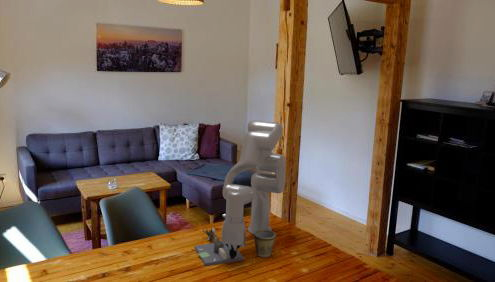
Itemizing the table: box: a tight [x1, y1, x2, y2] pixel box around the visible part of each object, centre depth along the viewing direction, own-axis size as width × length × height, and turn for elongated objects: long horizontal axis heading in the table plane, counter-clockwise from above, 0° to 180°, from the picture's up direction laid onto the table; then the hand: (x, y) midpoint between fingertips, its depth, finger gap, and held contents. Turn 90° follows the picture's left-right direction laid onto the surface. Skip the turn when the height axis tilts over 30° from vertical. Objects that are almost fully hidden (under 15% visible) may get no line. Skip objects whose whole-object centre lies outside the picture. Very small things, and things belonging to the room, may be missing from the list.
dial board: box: [194, 242, 245, 267], centre depth 187 cm, size 18×19×1 cm
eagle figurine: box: [202, 227, 220, 243], centre depth 201 cm, size 8×7×9 cm
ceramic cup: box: [253, 229, 277, 258], centre depth 190 cm, size 13×10×10 cm
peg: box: [214, 240, 227, 260], centre depth 184 cm, size 11×4×4 cm, turn 22°
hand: (232, 257), depth 180 cm, fingers closed
